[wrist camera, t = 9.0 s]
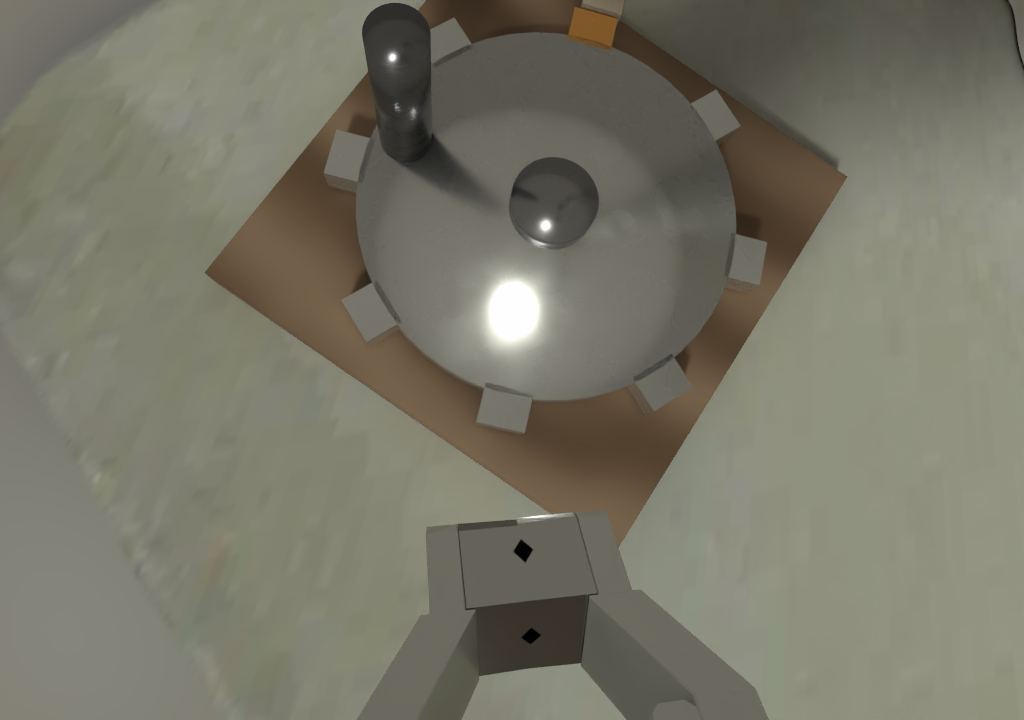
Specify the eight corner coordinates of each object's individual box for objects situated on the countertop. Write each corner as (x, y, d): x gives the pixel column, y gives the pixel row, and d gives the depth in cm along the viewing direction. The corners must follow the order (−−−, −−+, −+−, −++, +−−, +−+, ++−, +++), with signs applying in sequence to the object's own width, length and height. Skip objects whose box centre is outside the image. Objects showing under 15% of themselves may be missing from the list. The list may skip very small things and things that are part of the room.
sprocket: (692, 4, 37) (777, -151, 28) (793, 382, 35) (924, 349, 25) (299, 56, 35) (248, -97, 25) (375, 471, 32) (350, 470, 23)
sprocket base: (486, -56, 39) (491, -104, 36) (834, 183, 39) (870, 157, 35) (214, 281, 34) (191, 261, 31) (606, 551, 34) (623, 559, 31)
